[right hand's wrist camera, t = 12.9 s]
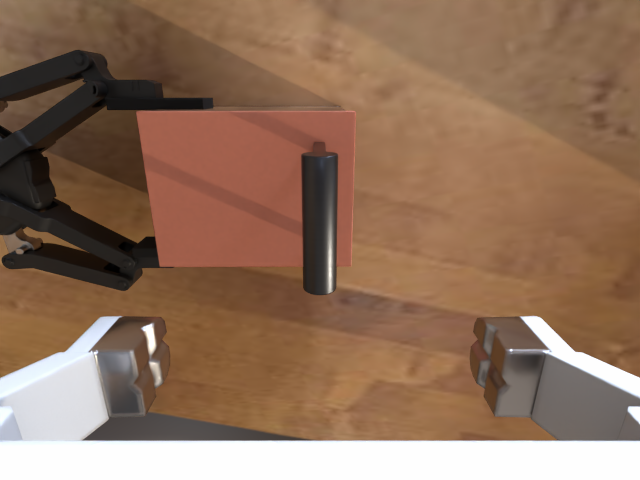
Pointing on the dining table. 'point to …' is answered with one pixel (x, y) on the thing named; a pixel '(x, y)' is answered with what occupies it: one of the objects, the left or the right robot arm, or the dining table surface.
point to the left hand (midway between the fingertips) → (215, 179)
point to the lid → (252, 189)
